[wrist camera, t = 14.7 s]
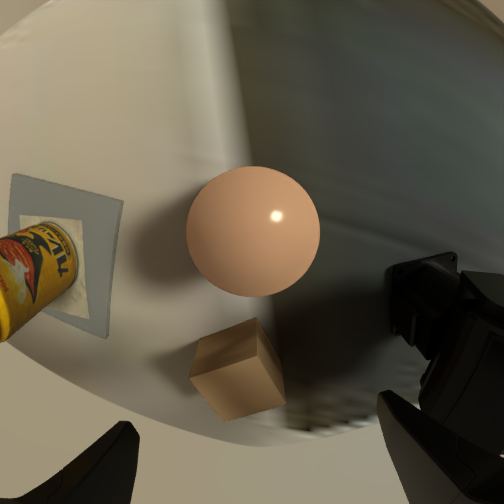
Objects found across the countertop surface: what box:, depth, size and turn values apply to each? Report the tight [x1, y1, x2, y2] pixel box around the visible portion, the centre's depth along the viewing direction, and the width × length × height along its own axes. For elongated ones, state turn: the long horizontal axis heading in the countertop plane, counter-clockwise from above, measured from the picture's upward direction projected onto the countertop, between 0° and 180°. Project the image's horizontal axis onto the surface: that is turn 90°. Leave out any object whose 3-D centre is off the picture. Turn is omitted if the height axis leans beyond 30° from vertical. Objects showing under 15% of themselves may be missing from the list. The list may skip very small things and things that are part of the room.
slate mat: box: [8, 173, 124, 339], centre depth 20 cm, size 12×12×1 cm
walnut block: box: [189, 317, 286, 422], centre depth 21 cm, size 5×5×5 cm
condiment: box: [0, 215, 90, 343], centre depth 14 cm, size 7×8×12 cm
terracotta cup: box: [186, 166, 320, 297], centre depth 16 cm, size 6×6×7 cm
